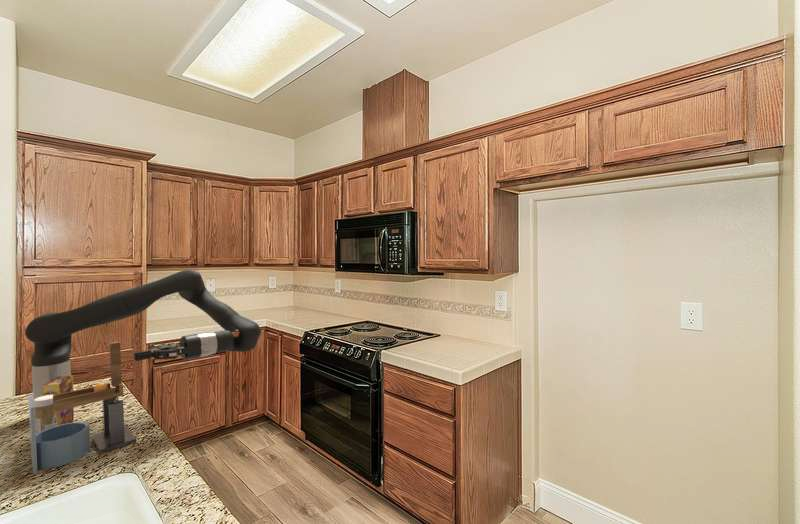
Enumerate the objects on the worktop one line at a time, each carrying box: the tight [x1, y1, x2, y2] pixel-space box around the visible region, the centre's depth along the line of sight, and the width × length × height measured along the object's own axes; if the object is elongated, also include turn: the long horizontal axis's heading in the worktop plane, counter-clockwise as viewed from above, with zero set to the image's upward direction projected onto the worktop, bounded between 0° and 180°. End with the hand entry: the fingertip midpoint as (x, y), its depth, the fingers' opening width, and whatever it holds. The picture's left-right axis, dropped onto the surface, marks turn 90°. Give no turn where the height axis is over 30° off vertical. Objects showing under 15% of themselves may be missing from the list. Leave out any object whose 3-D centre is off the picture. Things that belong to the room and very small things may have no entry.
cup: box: [27, 395, 91, 475], centre depth 97 cm, size 11×11×16 cm
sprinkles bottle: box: [34, 395, 57, 434], centre depth 103 cm, size 5×5×14 cm
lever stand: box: [91, 397, 137, 455], centre depth 105 cm, size 12×8×13 cm, turn 47°
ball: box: [93, 382, 108, 392], centre depth 103 cm, size 3×3×3 cm
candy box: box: [42, 374, 75, 426], centre depth 112 cm, size 9×4×15 cm, turn 20°
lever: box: [53, 341, 125, 412], centre depth 101 cm, size 6×14×16 cm, turn 137°
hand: (134, 357), depth 108 cm, fingers closed
